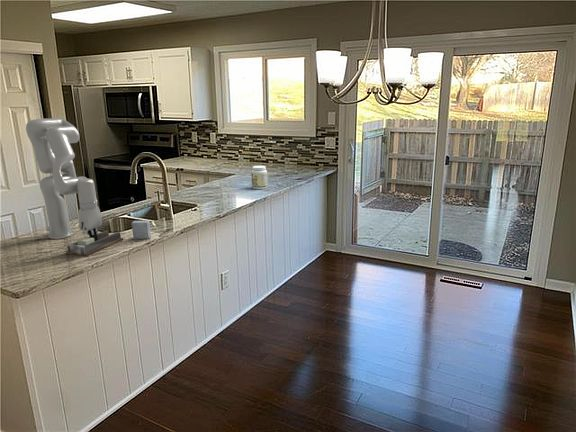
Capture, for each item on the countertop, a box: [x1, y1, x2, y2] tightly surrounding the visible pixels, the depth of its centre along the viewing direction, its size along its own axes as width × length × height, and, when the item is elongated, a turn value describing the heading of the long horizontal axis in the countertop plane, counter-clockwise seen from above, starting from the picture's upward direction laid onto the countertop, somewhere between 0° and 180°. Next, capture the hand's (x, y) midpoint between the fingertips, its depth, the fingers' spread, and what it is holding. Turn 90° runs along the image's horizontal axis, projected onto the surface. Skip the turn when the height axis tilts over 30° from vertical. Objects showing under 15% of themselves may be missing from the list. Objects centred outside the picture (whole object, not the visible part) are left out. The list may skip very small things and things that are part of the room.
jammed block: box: [76, 236, 94, 246], centre depth 197 cm, size 5×5×4 cm
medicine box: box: [131, 220, 152, 240], centre depth 213 cm, size 8×4×9 cm, turn 92°
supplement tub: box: [250, 165, 268, 190], centre depth 326 cm, size 12×12×17 cm
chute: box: [65, 230, 124, 257], centre depth 202 cm, size 12×24×5 cm, turn 160°
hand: (94, 241), depth 201 cm, fingers closed
